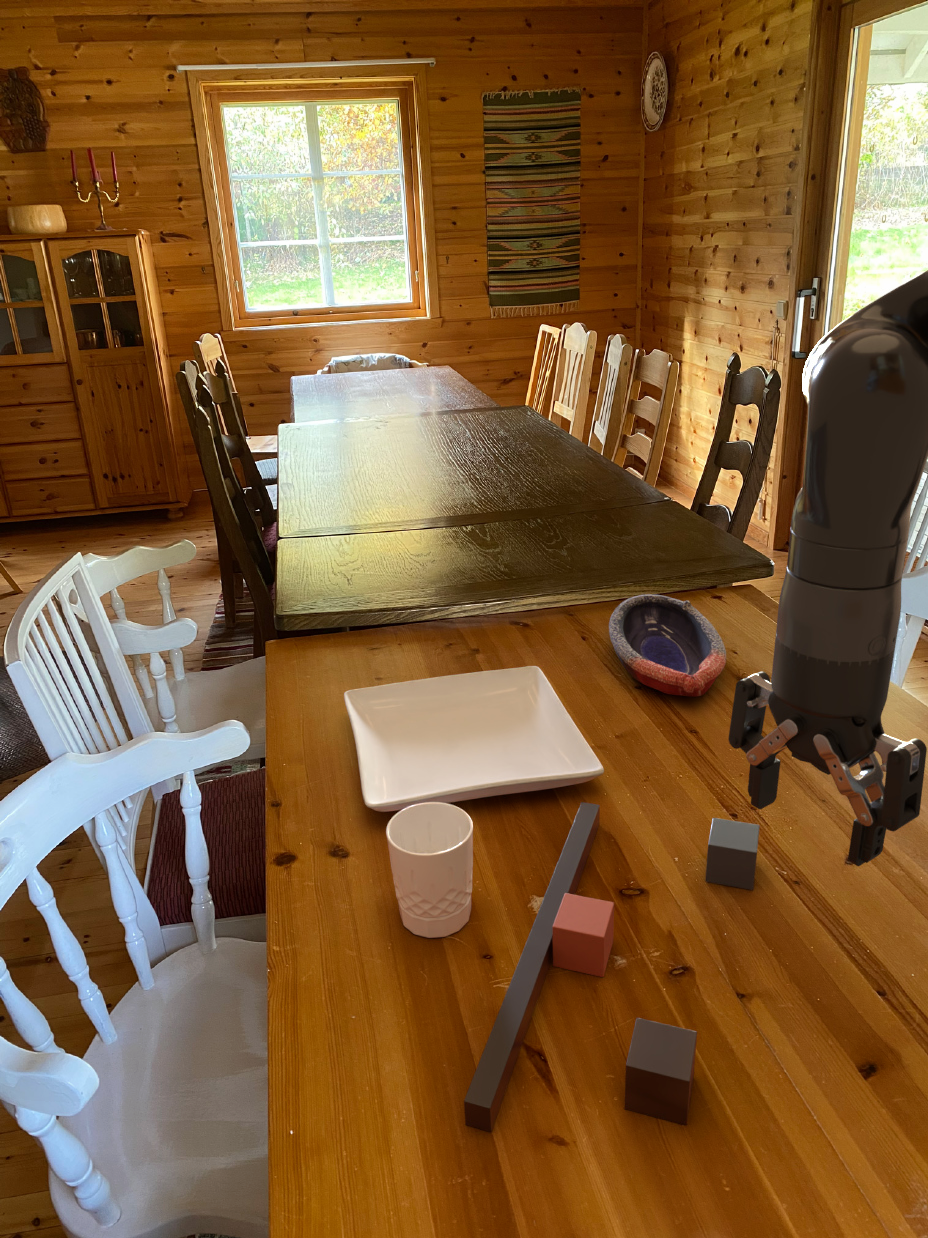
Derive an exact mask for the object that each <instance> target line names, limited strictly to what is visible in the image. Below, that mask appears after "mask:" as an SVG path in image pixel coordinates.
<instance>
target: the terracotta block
mask: <svg viewBox="0 0 928 1238" xmlns="http://www.w3.org/2000/svg"><path fill="white" fill-rule="evenodd" d="M614 924H615V902H614V901H613V902H612V901H608V900H604V899H603V900H602V899H598V898H593V897H587V896H584V895H583V896H582V895H577V894H575V895H573V894H568V893H565V894H564V897H563V900H562V902H561V905H560V908H559V910H558V913H557V916H556V919H555V921H554V924H553V958H552V966H553V967H555V968H559V969H563V970H569V971H573V972H577V973H580V974H581V973H582V974H585V975H586V974H587V975H590V976H595V977H600V978H604V976H605V973H606V969H607V965H608V961H609V958H610V955H611V950H612V948H613V944H614V931H615V930H614V928H615V925H614Z"/></svg>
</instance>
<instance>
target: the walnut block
mask: <svg viewBox="0 0 928 1238" xmlns="http://www.w3.org/2000/svg"><path fill="white" fill-rule="evenodd" d="M697 1041H698V1031H696V1030H692V1029H688V1028H683V1027H679V1026H674V1025H671V1024H666V1023H662V1022H657V1021H653V1020H649V1019H644V1018H640V1017H636V1018H635V1023H634V1026H633V1031H632V1036H631V1041H630V1044H629V1045H630V1046H629V1049H628V1054H627V1058H626V1064H625V1075H624V1076H625V1077H624V1079H625V1081H624V1102H623V1103H624V1107H623V1109H624V1110H627V1111H631V1112H635V1113H638V1114H642V1115H646V1116H648V1117H649V1116H650V1117H653V1118H656V1119H660V1120H665V1121H669V1122H672V1123H676V1124H680V1125H683V1126H687V1125H688V1118H689V1111H690V1104H691V1098H692V1089H693V1083H694V1075H695V1065H696V1051H697Z"/></svg>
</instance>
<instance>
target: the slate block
mask: <svg viewBox="0 0 928 1238" xmlns="http://www.w3.org/2000/svg"><path fill="white" fill-rule="evenodd" d="M759 836H760V824H756V823H749V822H743V821H738V820H731V819H725V818H718V817H712V819H711V825H710V831H709V836H708V837H709V838H708V842H707V843H708V844H707V851H706V852H707V854H706V864H705V865H706V866H705V877H704V878H705V879H704V881H705V882H706V883H712V884H716V885H723V886H728V887H733V888H738V889H743V890H744V889H745V890H749V891H753V890H754V888H755V887H754V886H755V875H756V866H757V859H758V846H759V838H760V837H759Z"/></svg>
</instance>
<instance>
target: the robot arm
mask: <svg viewBox="0 0 928 1238" xmlns="http://www.w3.org/2000/svg"><path fill="white" fill-rule="evenodd" d="M802 392H803V396H804V401H805V403H806V405H807V423H806V426H807V427H806V440H805V441H806V442H805V453H804V465H803V479H802V487H801V488H800V490H799V491H798V493H797V495H796V498H795V501H794V506H793V510H792V516H791V522H790V532H789V541H788V552H787V559H786V560H787V561H786V563H787V564H786V568H785V575H784V579H783V584H782V587H781V590H780V595H779V600H778V608H777V619H776V627H775V628H776V630H775V640H774V649H773V657H772V669H771V678H770V675H769V674H768V673H767V672H765V671H758V672H756V673H753V674H751V675H749V676H746V677H744V678H743V679H739V680H738V681H737V682H736V684H735V690H734V697H733V704H732V711H731V718H730V724H729V731H728V743H729V745H730V746H731V747H732V748H733V749H736V750H739V749H740V750H742V751H743V752H744V753H745V755H746V756H745V757H746V760H747V762H748V763H749V771H748V781H747V782H748V783H747V792H748V796H749V797H750V805H751V806H752V807H754V808H756V809H758V810H762V809H765V808H766V807H768V806H770V805H772V804H774V802H775V801H776V799H777V797H778V789H779V788H778V787H779V779H780V770H781V760H780V759H778V758H777V756H778V755H779V754H781V753H782V752H784V751H785V750H786V749H788V750H789V751H790V752H791V757H792V758H794V759H795V760H798V761H801V762H804V763H808V764H811V765H812V766H813V767H815V769H817V770H818V771H819V772H822V773H823V774H825V775H827V776H830V775H831V778H832V780H833V782H834V784H835V786H836V788H837V790H838V792H839V794H840V795H842V796H845V797H846V798H847V800H848V801H849V802H848V803H849V804H850V806H851V808H852V811H853V813H854V815H855V817H856V818H855V819H853V822H852V830H851V835H850V842H849V849H848V856H847V861H848V862H849V863H851V864H852V865H854V866H856V867H860V866H862V865H864V864H868V863H869V862H871V861H872V860H874V859H876V858H877V857H878V856H880V855H881V853H883V850H884V843H885V839H886V833H887V832H886V831H887V830H888V831H890V832H896V831H897V830H899V829H901V828H902V827H904V826H906V825H907V824H909V823H910V822H911V821H914V820H915V819H916V818H919V816H920V813H921V805H922V796H923V786H924V778H925V768H926V760H927V752H928V751H927V750H928V749H927V745H926V743H925V742H924V741H923V740H921V739H919V738H911V739H910V740H908V741H903V740H900V739H898V738H896V737H892V736H890V735H887V734H886V733H885V730H884V726H883V723H882V714H883V711H884V708H885V705H886V703H887V699H888V696H889V695H888V694H889V688H890V681H891V675H892V669H893V663H894V657H895V652H896V651H895V650H896V646H897V645H896V644H897V638H898V633H899V626H900V621H901V620H900V619H901V612H902V581H903V573H904V568H905V561H906V555H907V547H908V542H909V534H910V526H911V511H912V507H913V506H912V505H913V503H914V499H915V497H916V494H917V491H918V489H919V486H920V483H921V481H922V477H923V474H924V471H925V467H926V464H927V461H928V269H927V270H925V271H923V272H922V273H920V274H918V275H916V276H914V277H913V278H911V279H909V280H908V281H905V282H903V284H901V285H899V286H897V287H896V288H894V289H892V290H891V291H888V292H887V293H885V294H884V295H882V296H880V297H878V298H877V299H875V300H873V301H872V302H870V303H869V304H867V305H865V306H864V307H863V308H861V309H859V310H858V311H856V312H855V313H853V314H851V315H850V316H849V317H847V318H845V319H844V320H843V321H841V322H840V323H838V324H837V325H836V326H834V328H833V329H831V330H830V331H829V332H828V333H827V334H825V335H824V336H823V337H822V338H821V339H820V340H819V341H818V342H817V344H816V345H815V346H814V348H813V349H812V351H811V352H810V353H809V356H808V358H807V360H806V361H805V365H804V368H803V373H802ZM767 706H768V707H769V708H768V709H769V710H770V713H771V715H772V717H773V719H774V722H775V724H776V726H777V727H776V728H774V729H772V731H771V732H769V733H768V734H767V735H765V736H763V728H764V722H765V716H766V709H767ZM875 752H876V753H877V754H878V755H879V756H880V759H881V764H880V762H879V760H878V758H877V755H876V753H875ZM857 764H858V765H859V768H860V772H859V774H857V775H855V776H854V775H853V774H852V772H851V770H850V769H851V768H854V766H857ZM884 773H885V774H884ZM884 775H885V777H884ZM884 778H885V779H884ZM883 779H884V781H885V782H883Z"/></svg>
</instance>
